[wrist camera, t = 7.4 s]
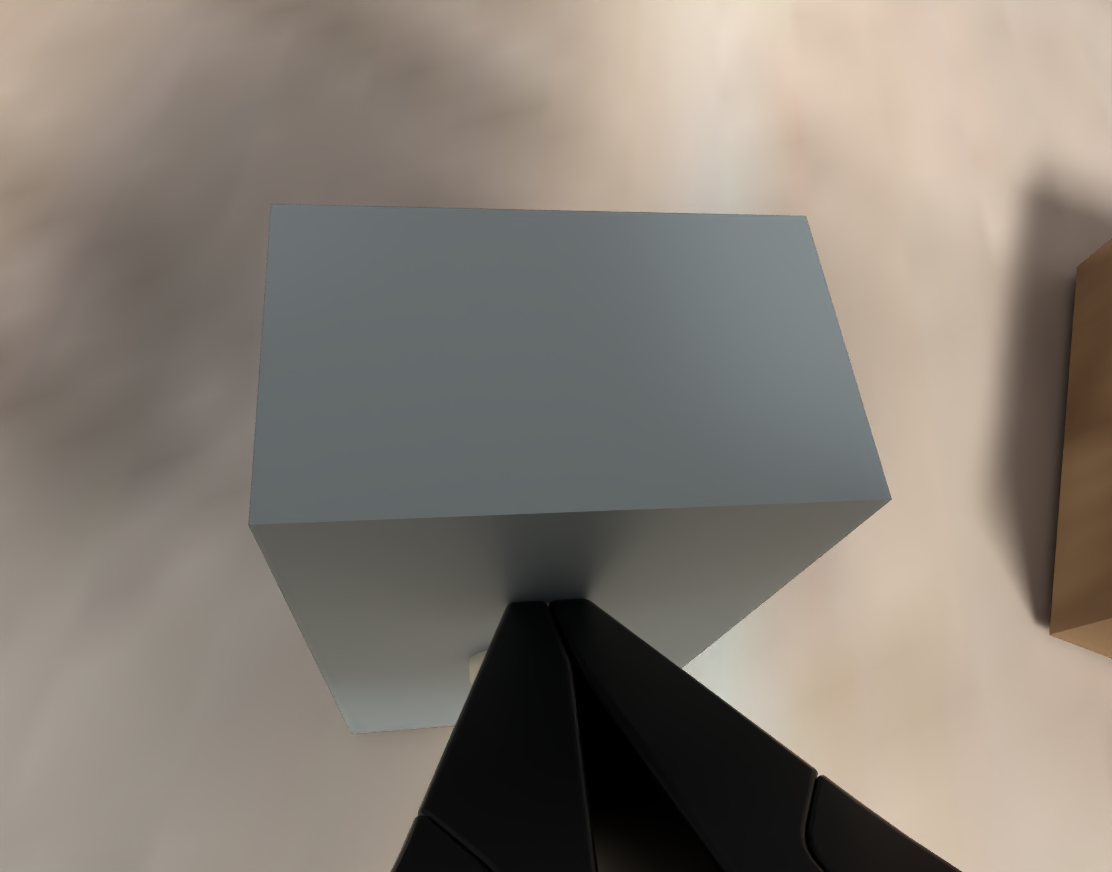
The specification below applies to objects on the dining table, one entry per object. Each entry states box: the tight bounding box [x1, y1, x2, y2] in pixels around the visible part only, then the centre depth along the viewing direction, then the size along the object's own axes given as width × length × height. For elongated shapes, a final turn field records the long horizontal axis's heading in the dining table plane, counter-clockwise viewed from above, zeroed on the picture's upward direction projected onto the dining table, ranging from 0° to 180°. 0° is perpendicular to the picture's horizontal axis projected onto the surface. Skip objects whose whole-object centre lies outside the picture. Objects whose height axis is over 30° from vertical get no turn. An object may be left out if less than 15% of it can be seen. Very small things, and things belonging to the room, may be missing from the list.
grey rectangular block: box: [249, 204, 892, 734], centre depth 11 cm, size 4×5×10 cm
